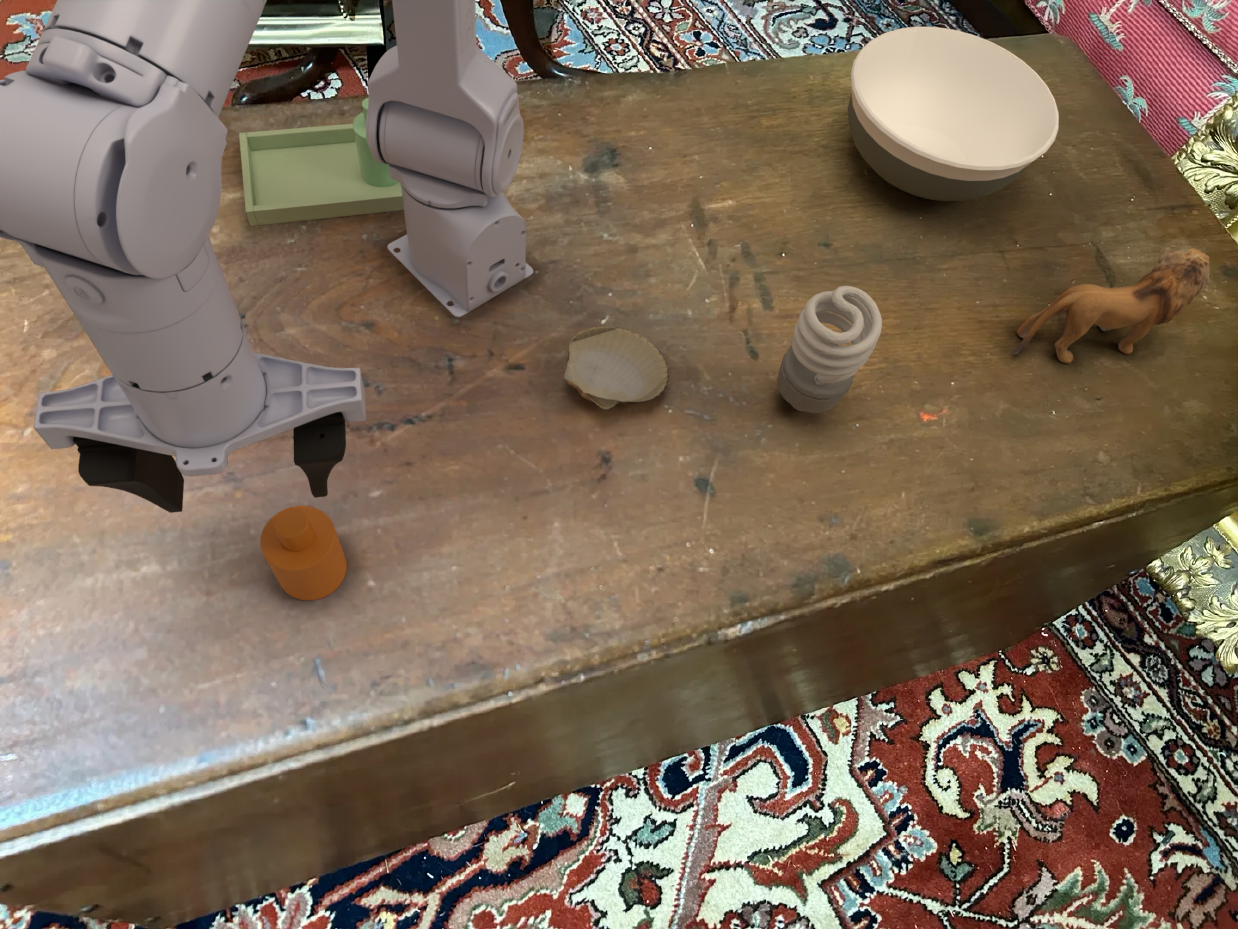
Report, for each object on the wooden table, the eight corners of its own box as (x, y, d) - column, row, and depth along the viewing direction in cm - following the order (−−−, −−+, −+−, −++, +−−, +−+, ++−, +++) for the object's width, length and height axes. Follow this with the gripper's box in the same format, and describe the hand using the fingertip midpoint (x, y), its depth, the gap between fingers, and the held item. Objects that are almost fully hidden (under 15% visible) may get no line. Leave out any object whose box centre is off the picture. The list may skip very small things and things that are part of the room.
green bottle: (412, 175, 78) (404, 107, 72) (377, 193, 76) (366, 125, 70) (387, 151, 79) (377, 82, 73) (352, 168, 77) (339, 99, 71)
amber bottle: (360, 573, 60) (344, 527, 54) (302, 614, 58) (278, 571, 52) (322, 527, 61) (302, 477, 55) (264, 565, 60) (237, 518, 53)
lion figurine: (1130, 300, 80) (1196, 226, 73) (1166, 346, 78) (1239, 275, 70) (993, 334, 77) (1048, 261, 69) (1027, 384, 74) (1088, 314, 66)
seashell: (671, 392, 72) (606, 317, 73) (689, 372, 70) (621, 296, 70) (603, 443, 67) (534, 363, 68) (619, 424, 65) (547, 341, 66)
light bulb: (838, 437, 70) (896, 341, 59) (767, 432, 69) (813, 334, 59) (831, 377, 72) (885, 276, 62) (762, 372, 72) (805, 269, 62)
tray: (467, 132, 82) (467, 113, 80) (486, 205, 78) (486, 187, 76) (244, 152, 78) (238, 132, 76) (251, 230, 73) (245, 211, 72)
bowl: (865, 248, 80) (900, 176, 73) (797, 106, 89) (822, 29, 82) (1048, 227, 84) (1099, 157, 77) (965, 93, 93) (1004, 19, 86)
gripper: (-27, 432, 36) (103, 570, 48) (350, 399, 39) (386, 537, 50) (-1, 295, 39) (114, 455, 51) (344, 274, 42) (379, 430, 54)
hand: (249, 489), depth 51 cm, fingers open, 7 cm apart
